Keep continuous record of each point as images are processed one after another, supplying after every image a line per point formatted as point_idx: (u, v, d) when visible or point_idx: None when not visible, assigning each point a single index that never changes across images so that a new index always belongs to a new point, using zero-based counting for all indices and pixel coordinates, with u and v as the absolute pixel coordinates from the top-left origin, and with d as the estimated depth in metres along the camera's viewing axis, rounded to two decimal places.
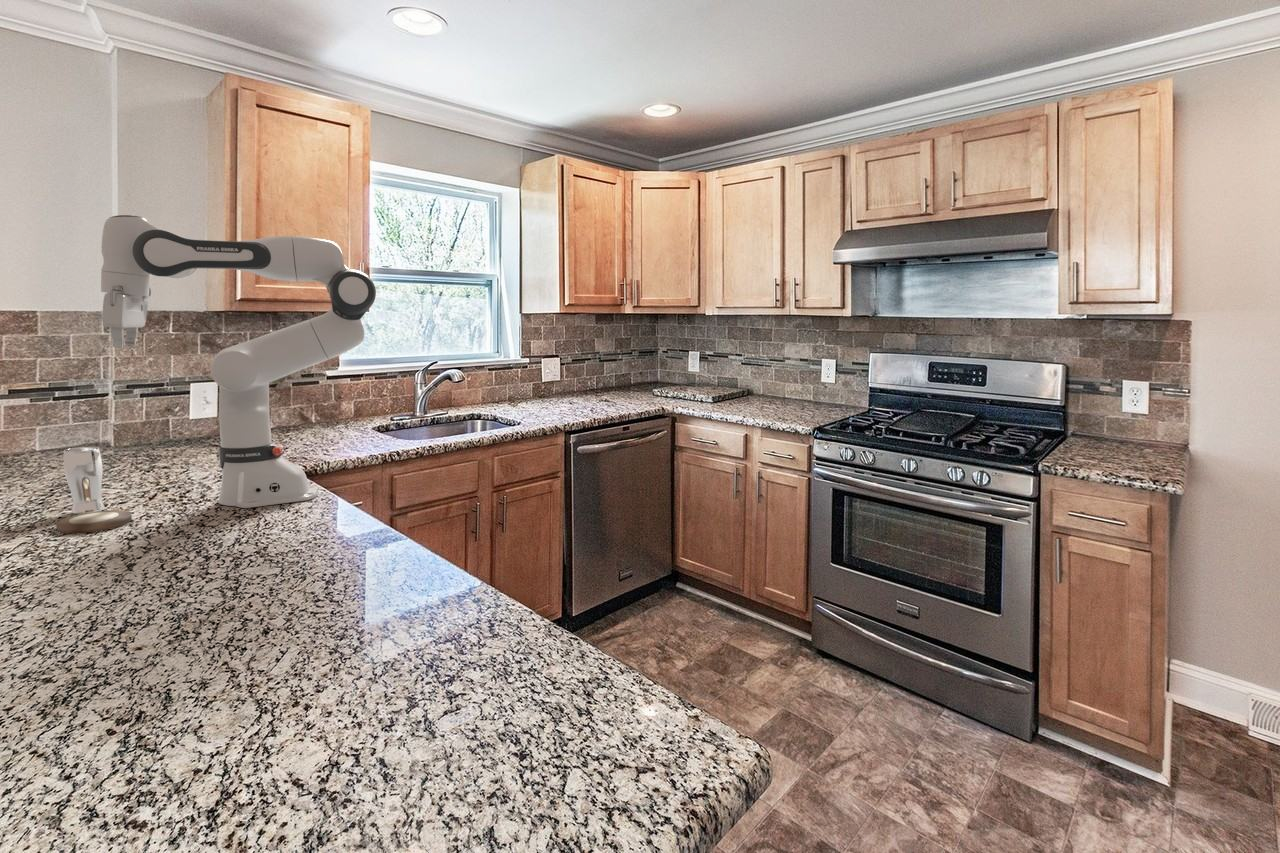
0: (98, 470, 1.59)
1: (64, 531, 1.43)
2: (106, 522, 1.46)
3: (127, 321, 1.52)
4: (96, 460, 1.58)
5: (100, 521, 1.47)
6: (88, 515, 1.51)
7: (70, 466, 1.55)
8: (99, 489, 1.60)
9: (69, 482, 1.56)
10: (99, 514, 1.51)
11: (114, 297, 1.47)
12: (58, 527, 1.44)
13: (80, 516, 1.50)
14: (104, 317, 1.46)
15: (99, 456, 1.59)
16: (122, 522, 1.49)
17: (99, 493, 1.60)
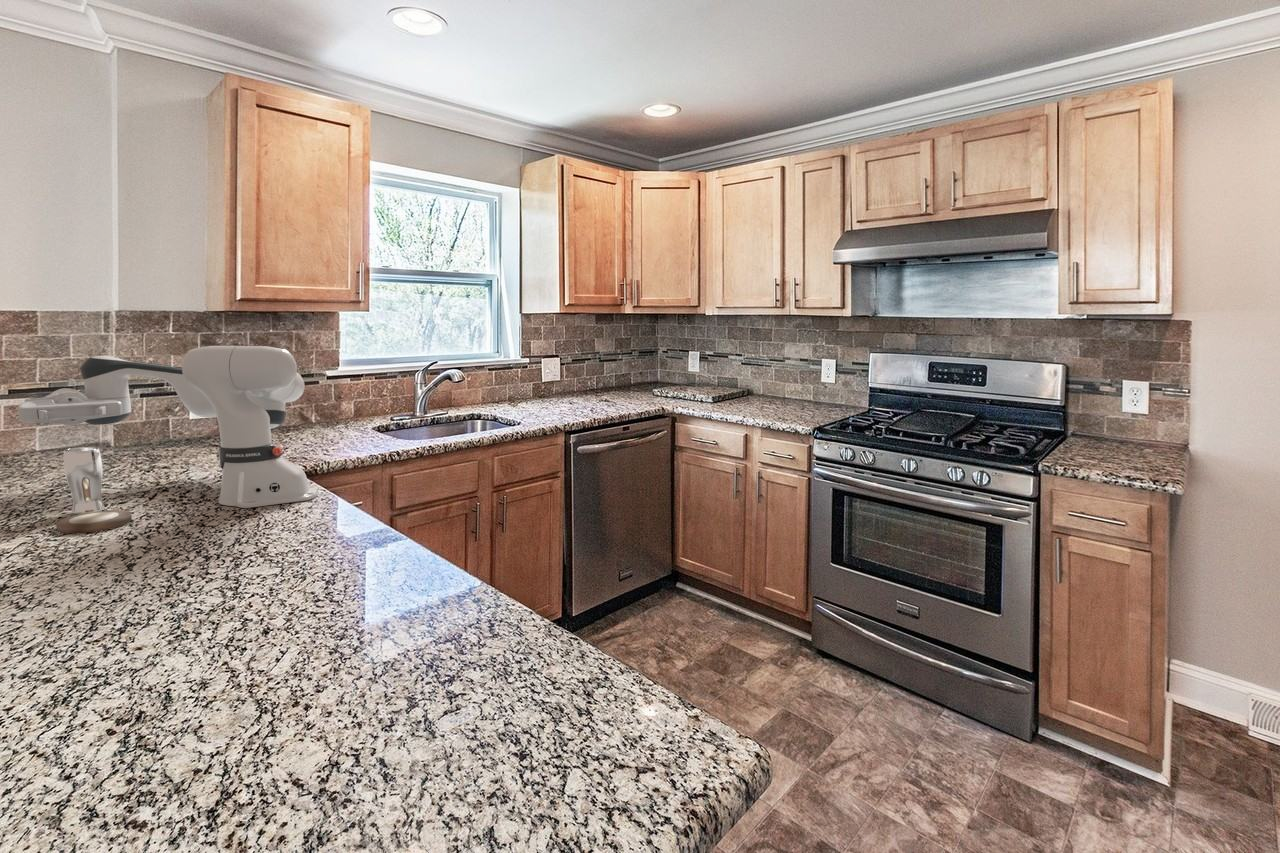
0: (98, 470, 1.59)
1: (64, 531, 1.43)
2: (106, 522, 1.46)
3: None
4: (96, 460, 1.58)
5: (100, 521, 1.47)
6: (88, 515, 1.51)
7: (70, 466, 1.55)
8: (99, 489, 1.60)
9: (69, 482, 1.56)
10: (99, 514, 1.51)
11: None
12: (58, 527, 1.44)
13: (80, 516, 1.50)
14: (121, 403, 1.77)
15: (99, 456, 1.59)
16: (122, 522, 1.49)
17: (99, 493, 1.60)
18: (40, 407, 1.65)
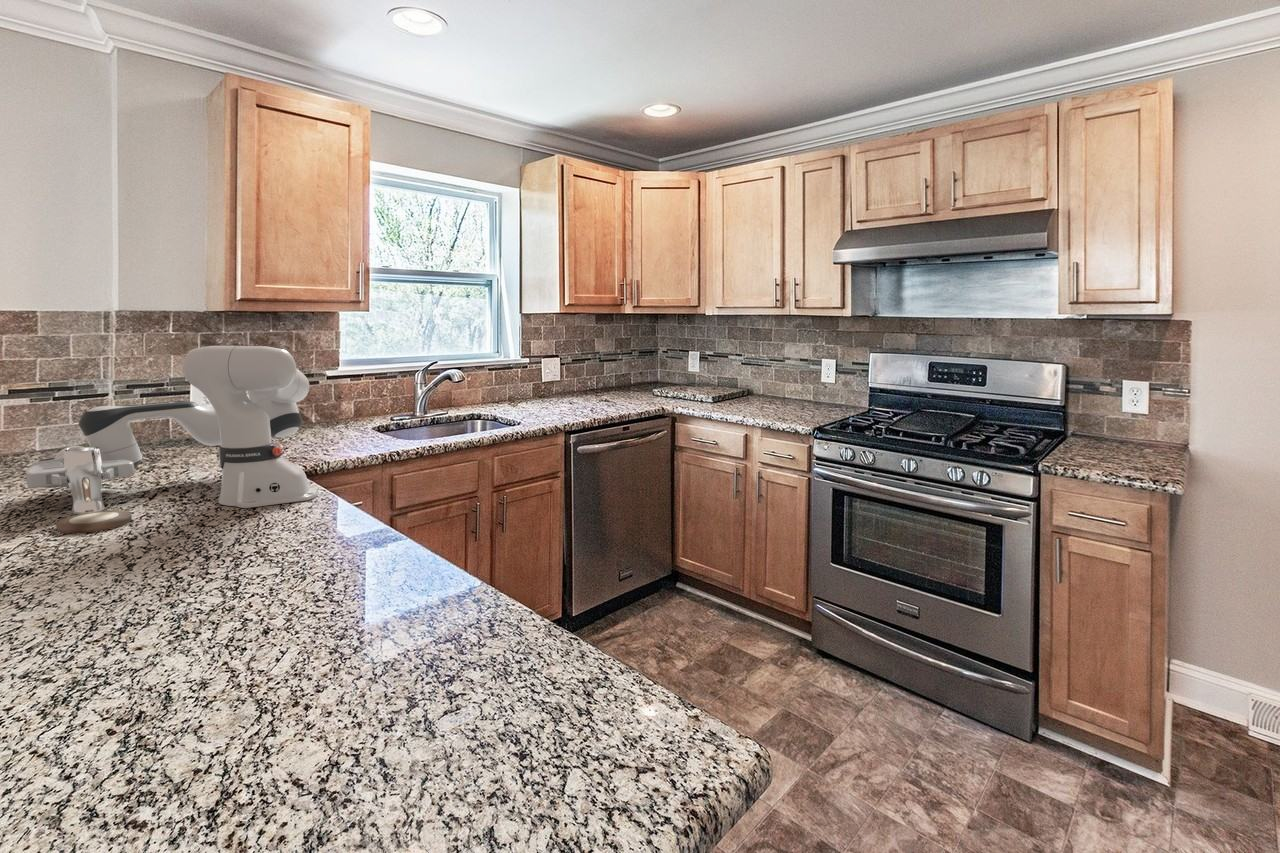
0: (98, 470, 1.59)
1: (64, 531, 1.43)
2: (106, 522, 1.46)
3: None
4: (96, 460, 1.58)
5: (100, 521, 1.47)
6: (88, 515, 1.51)
7: (70, 465, 1.55)
8: (99, 489, 1.60)
9: (69, 482, 1.56)
10: (99, 514, 1.51)
11: None
12: (58, 527, 1.44)
13: (80, 516, 1.50)
14: (132, 463, 1.70)
15: (99, 456, 1.59)
16: (122, 522, 1.49)
17: (99, 493, 1.60)
18: (49, 472, 1.57)
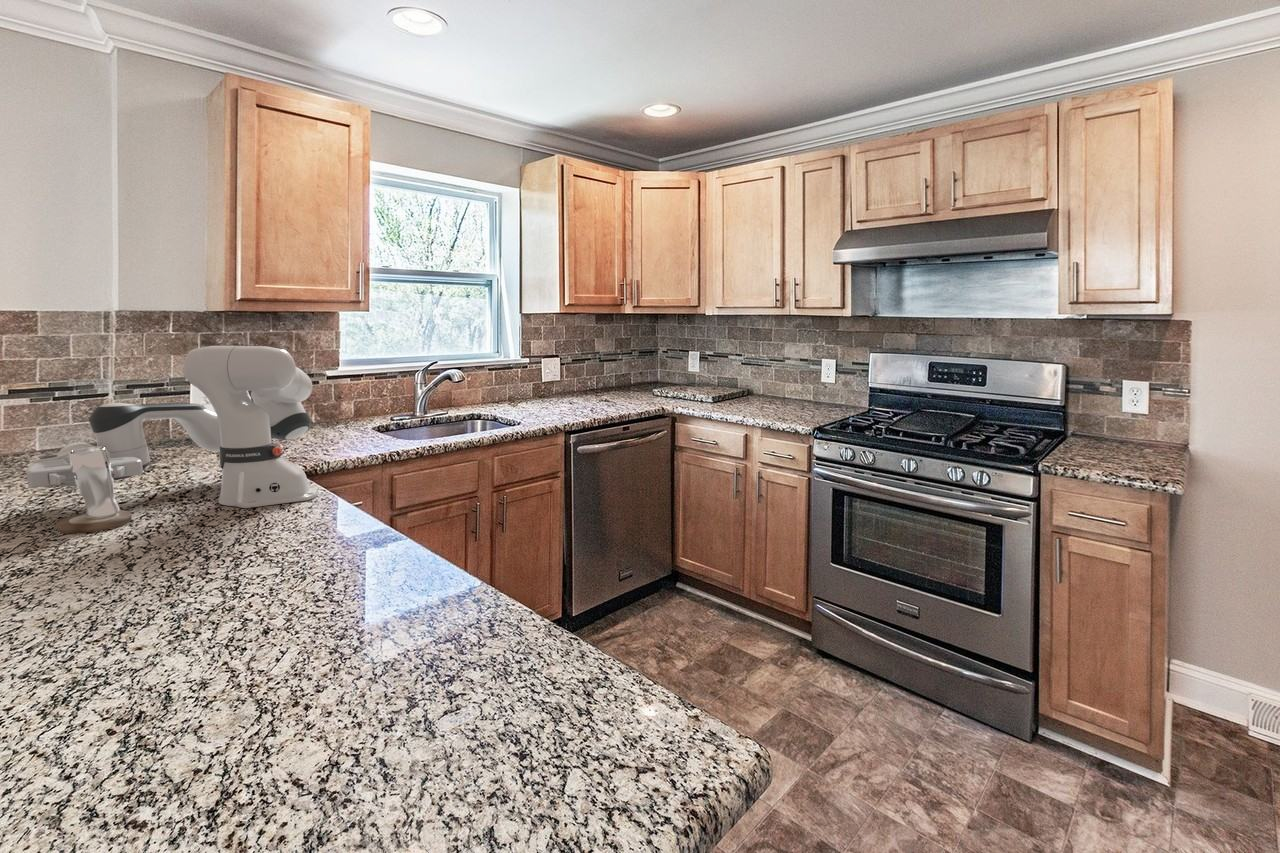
0: (108, 471, 1.48)
1: (64, 531, 1.43)
2: (106, 522, 1.46)
3: None
4: (104, 460, 1.47)
5: (100, 521, 1.47)
6: None
7: (77, 468, 1.45)
8: (112, 491, 1.50)
9: (79, 486, 1.46)
10: None
11: None
12: (58, 527, 1.44)
13: (80, 516, 1.50)
14: (140, 460, 1.59)
15: (107, 456, 1.48)
16: (122, 522, 1.49)
17: (112, 495, 1.50)
18: (51, 470, 1.46)
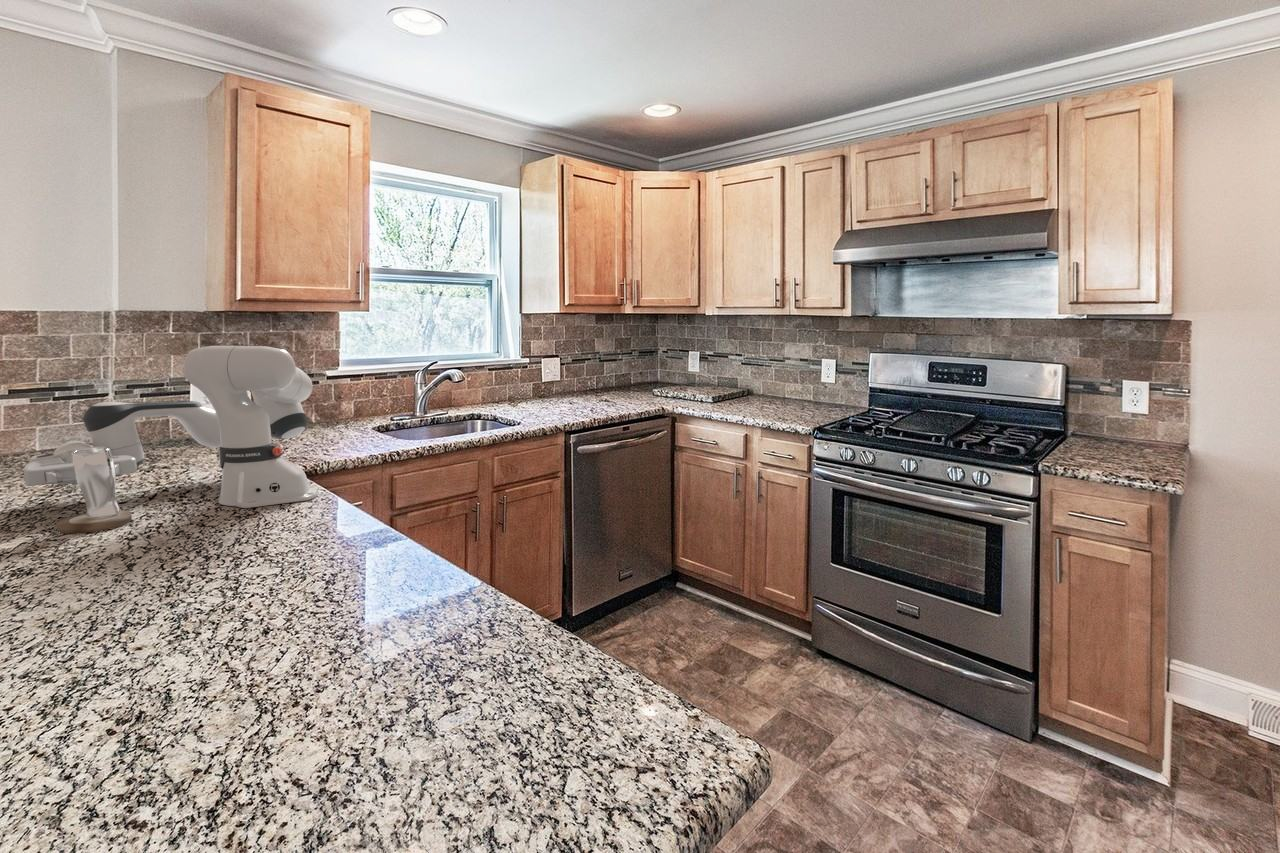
0: (110, 472, 1.48)
1: (64, 531, 1.43)
2: (106, 522, 1.46)
3: None
4: (107, 461, 1.47)
5: (100, 521, 1.47)
6: None
7: (80, 469, 1.45)
8: (113, 492, 1.50)
9: (80, 486, 1.46)
10: None
11: None
12: (58, 527, 1.44)
13: (80, 516, 1.50)
14: (135, 459, 1.63)
15: (110, 457, 1.49)
16: (122, 522, 1.49)
17: (113, 496, 1.50)
18: (48, 469, 1.51)
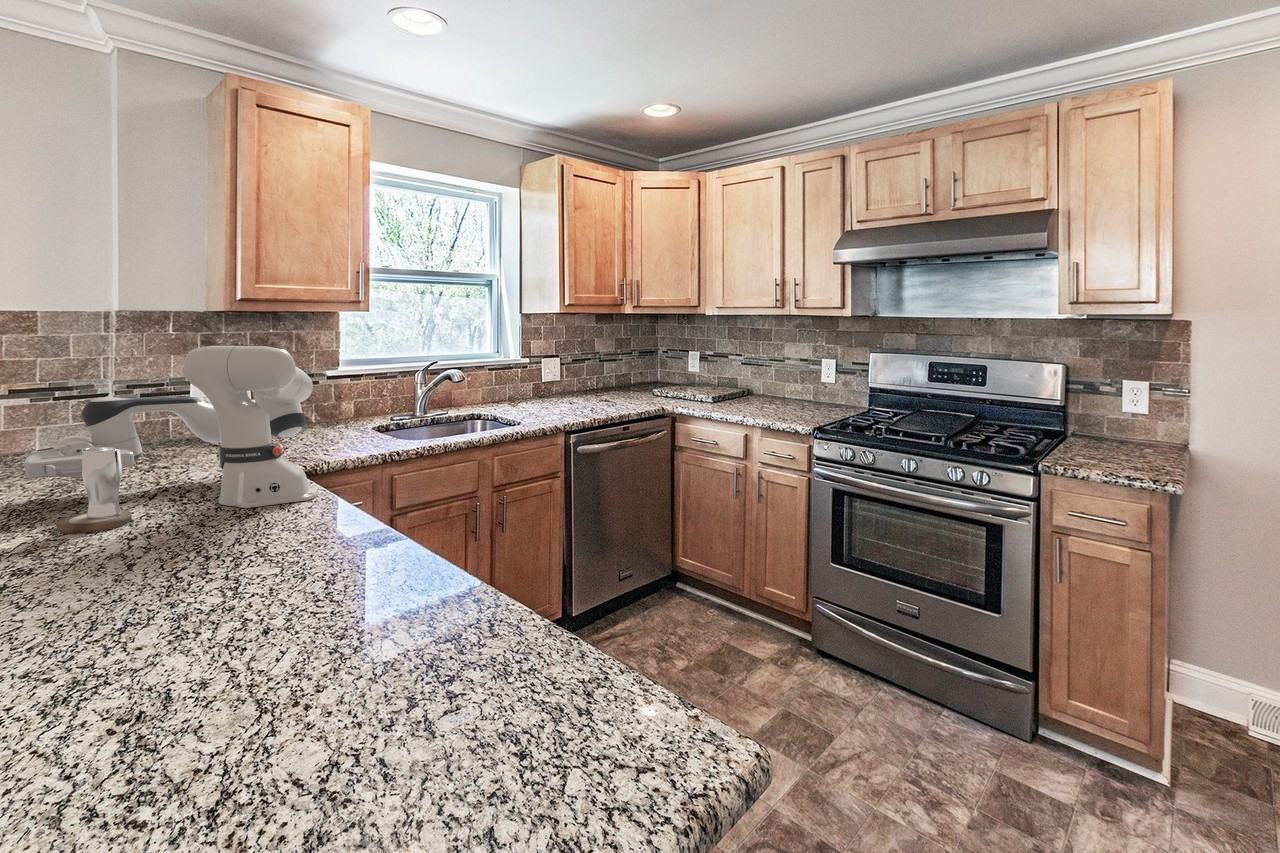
0: (117, 472, 1.49)
1: (64, 531, 1.43)
2: (106, 522, 1.46)
3: None
4: (116, 461, 1.49)
5: (100, 521, 1.47)
6: None
7: (88, 466, 1.46)
8: (117, 492, 1.50)
9: (86, 483, 1.47)
10: None
11: None
12: (58, 527, 1.44)
13: (80, 516, 1.50)
14: (132, 453, 1.68)
15: (119, 457, 1.50)
16: (122, 522, 1.49)
17: (116, 497, 1.50)
18: (47, 462, 1.55)
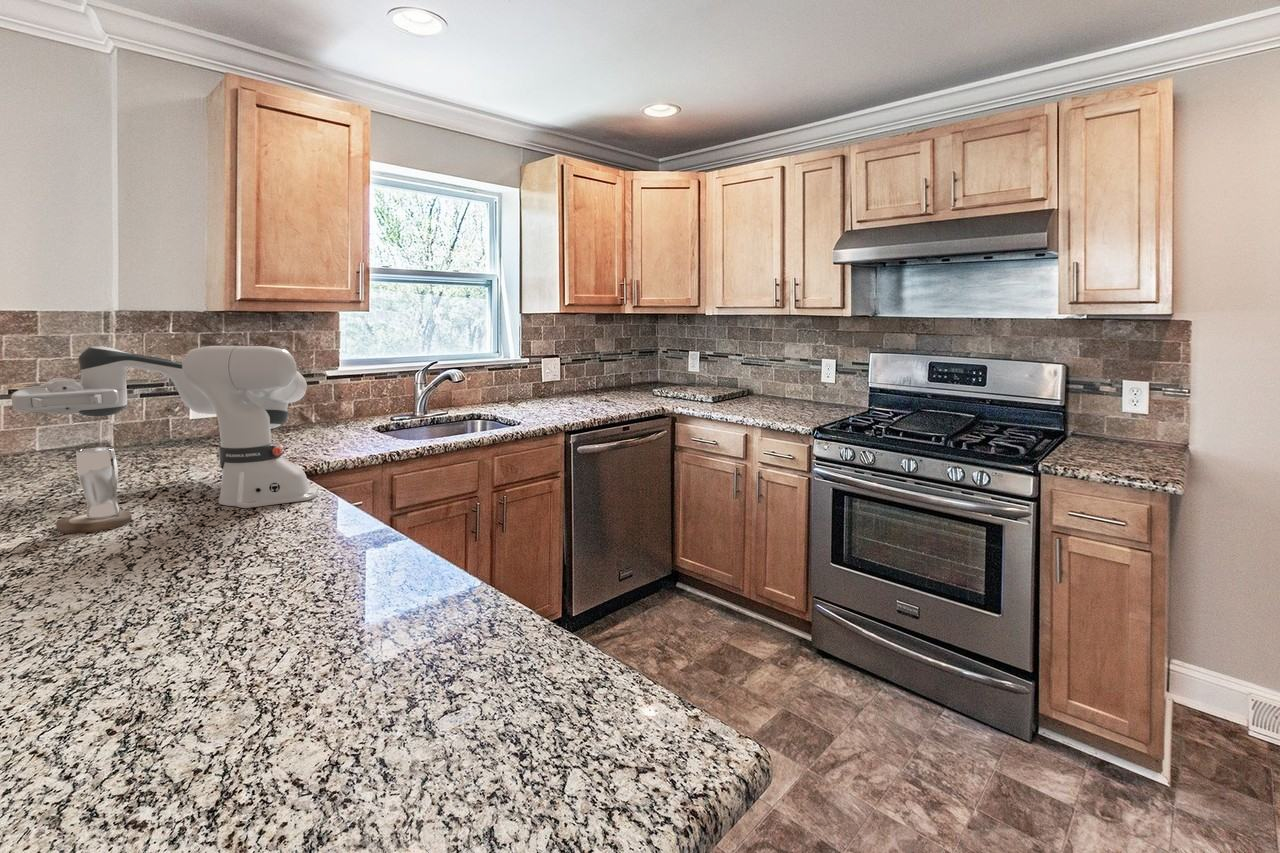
0: (113, 471, 1.49)
1: (64, 531, 1.43)
2: (106, 522, 1.46)
3: (97, 404, 1.71)
4: (110, 461, 1.48)
5: (100, 521, 1.47)
6: None
7: (83, 467, 1.46)
8: (114, 492, 1.50)
9: (83, 485, 1.46)
10: None
11: None
12: (58, 527, 1.44)
13: (80, 516, 1.50)
14: (116, 391, 1.73)
15: (114, 456, 1.50)
16: (122, 522, 1.49)
17: (114, 496, 1.50)
18: (34, 395, 1.61)
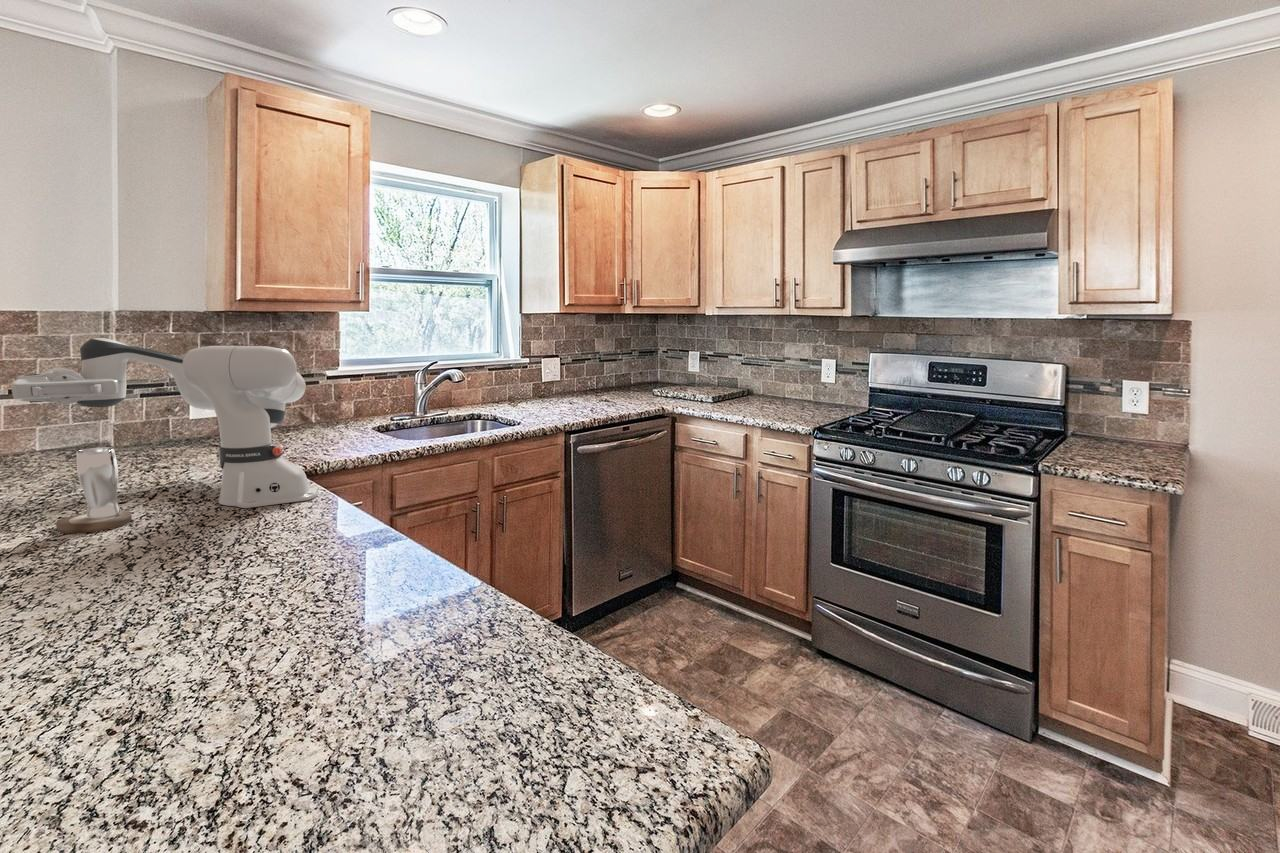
0: (113, 472, 1.49)
1: (64, 531, 1.43)
2: (106, 522, 1.46)
3: (97, 394, 1.71)
4: (111, 462, 1.48)
5: (100, 521, 1.47)
6: None
7: (83, 468, 1.45)
8: (115, 492, 1.50)
9: (83, 485, 1.46)
10: None
11: None
12: (58, 527, 1.44)
13: (80, 516, 1.50)
14: (116, 381, 1.74)
15: (114, 457, 1.49)
16: (122, 522, 1.49)
17: (115, 497, 1.50)
18: (34, 384, 1.62)
